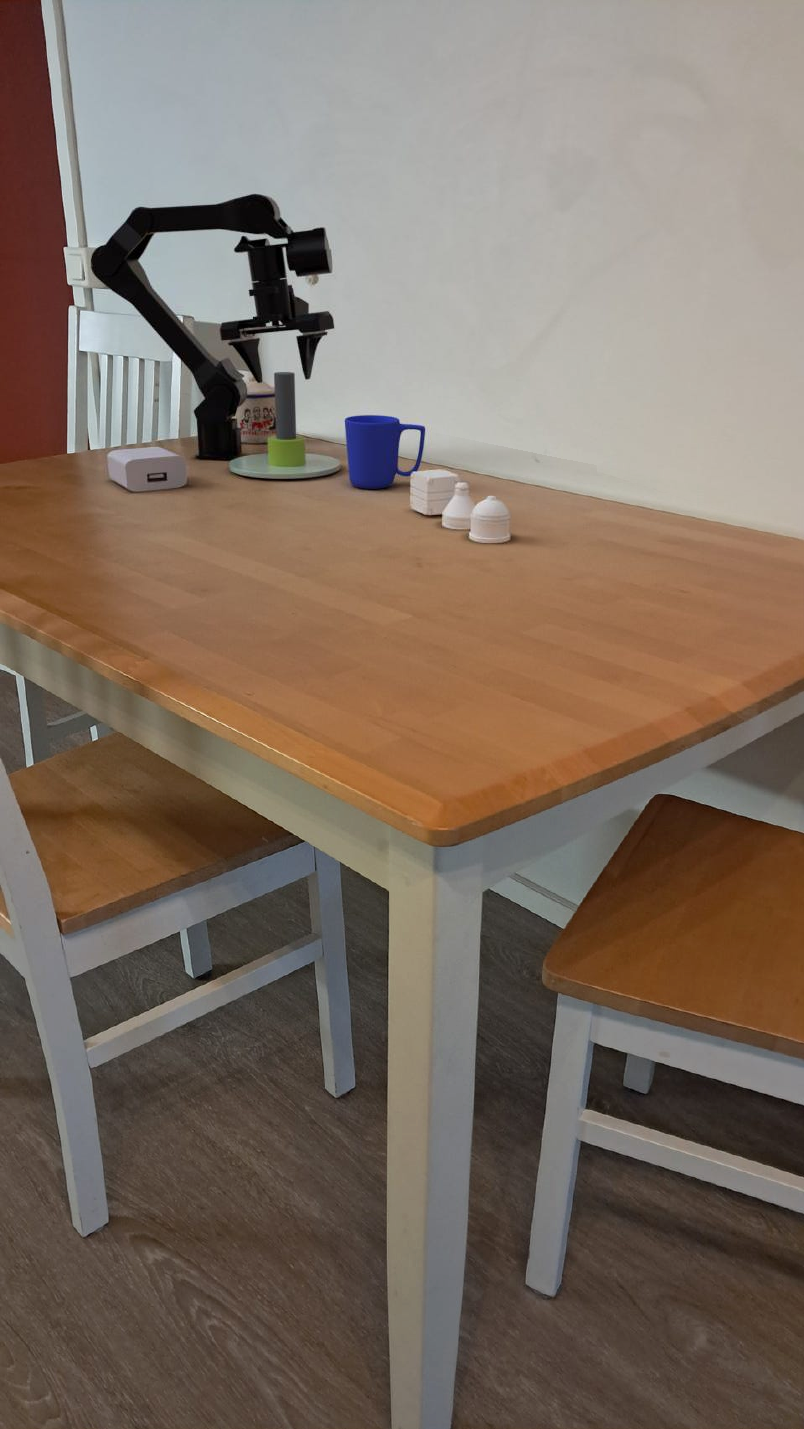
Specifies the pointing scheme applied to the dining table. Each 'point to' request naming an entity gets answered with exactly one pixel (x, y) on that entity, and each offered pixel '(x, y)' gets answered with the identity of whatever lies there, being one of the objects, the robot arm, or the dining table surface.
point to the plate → (262, 469)
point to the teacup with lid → (257, 413)
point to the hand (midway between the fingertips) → (283, 380)
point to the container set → (459, 506)
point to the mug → (376, 449)
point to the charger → (147, 469)
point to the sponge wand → (285, 425)
